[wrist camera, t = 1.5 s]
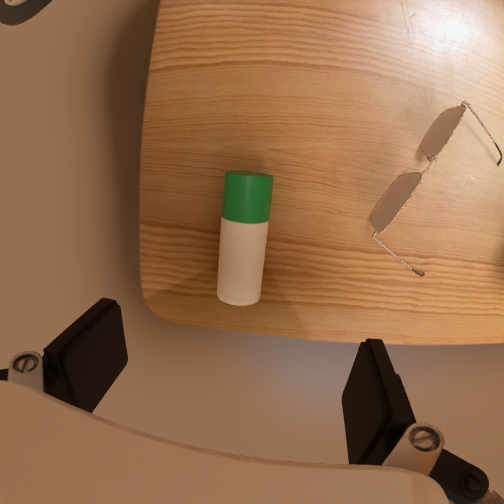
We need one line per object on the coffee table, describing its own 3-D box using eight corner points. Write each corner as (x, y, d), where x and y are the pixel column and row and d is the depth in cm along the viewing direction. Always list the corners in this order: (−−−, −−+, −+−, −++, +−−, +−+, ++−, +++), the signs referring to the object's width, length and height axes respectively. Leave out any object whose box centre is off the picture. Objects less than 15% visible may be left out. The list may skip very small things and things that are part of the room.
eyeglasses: (446, 101, 19) (471, 98, 16) (496, 161, 21) (522, 168, 17) (360, 225, 24) (375, 241, 20) (418, 274, 25) (437, 294, 21)
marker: (263, 290, 27) (254, 309, 23) (224, 282, 27) (210, 300, 24) (276, 174, 23) (269, 177, 20) (232, 169, 24) (218, 172, 21)
